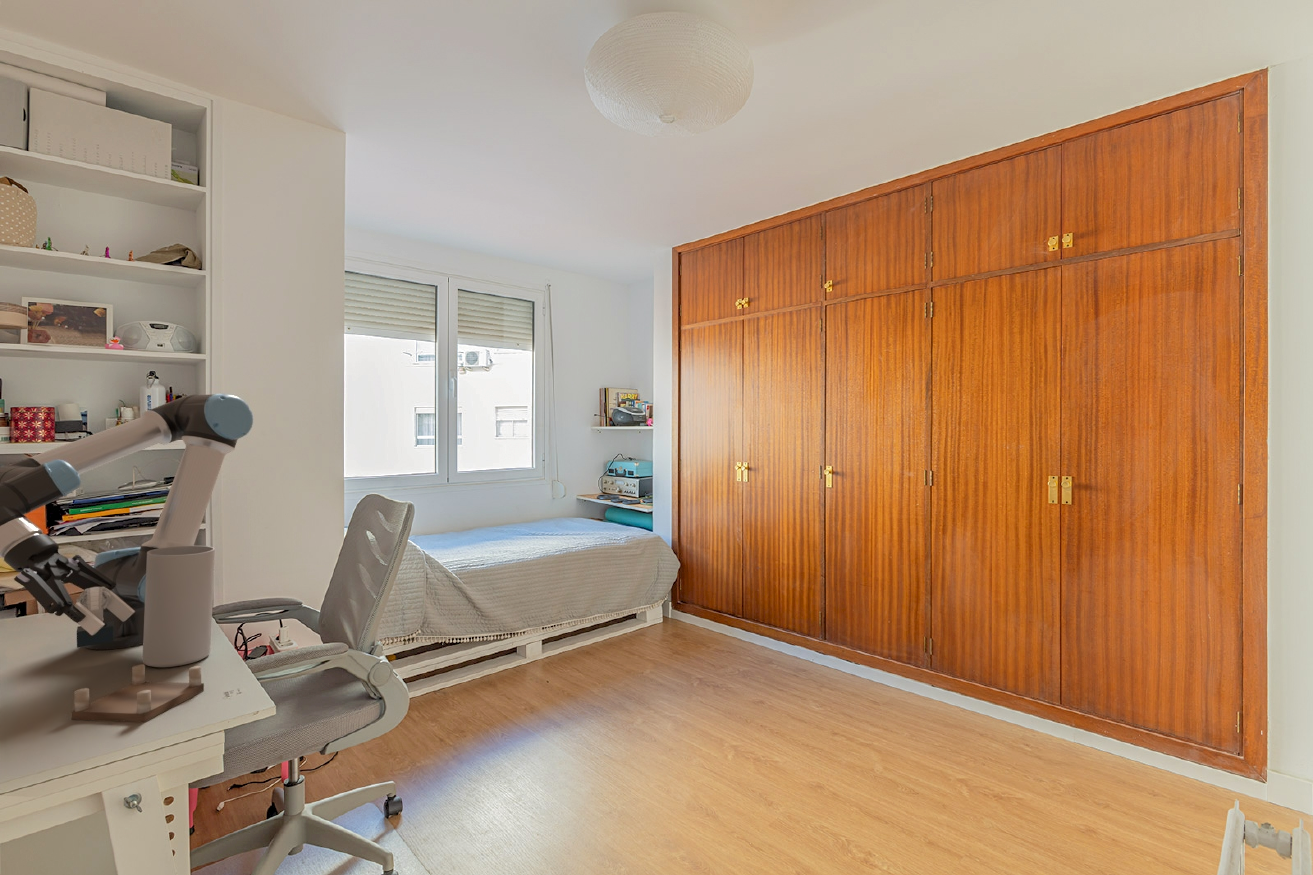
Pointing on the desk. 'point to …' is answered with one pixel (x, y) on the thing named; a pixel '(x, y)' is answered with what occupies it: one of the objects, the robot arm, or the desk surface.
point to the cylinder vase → (178, 605)
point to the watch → (95, 603)
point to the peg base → (129, 702)
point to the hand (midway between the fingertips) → (114, 622)
